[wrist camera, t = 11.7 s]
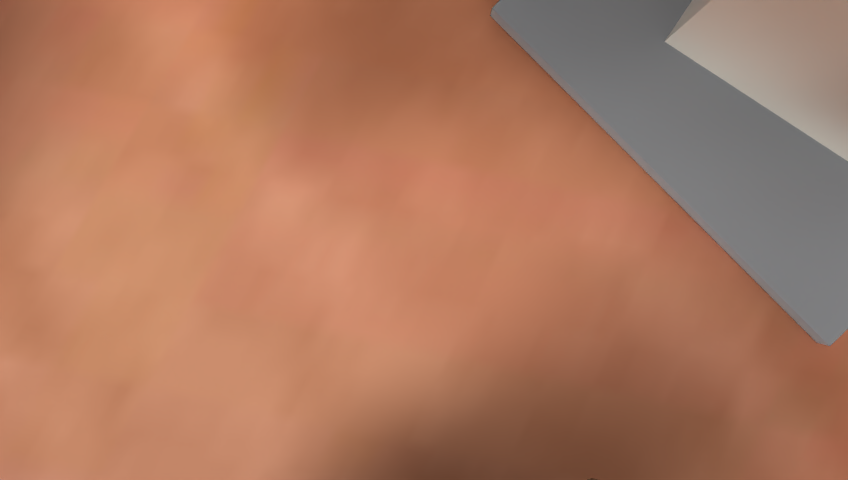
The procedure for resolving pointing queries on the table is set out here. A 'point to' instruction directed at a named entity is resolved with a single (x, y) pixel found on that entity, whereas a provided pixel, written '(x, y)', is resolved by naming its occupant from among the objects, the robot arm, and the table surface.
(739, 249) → the mat
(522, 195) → the table surface
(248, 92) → the table surface
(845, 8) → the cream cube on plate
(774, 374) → the table surface
